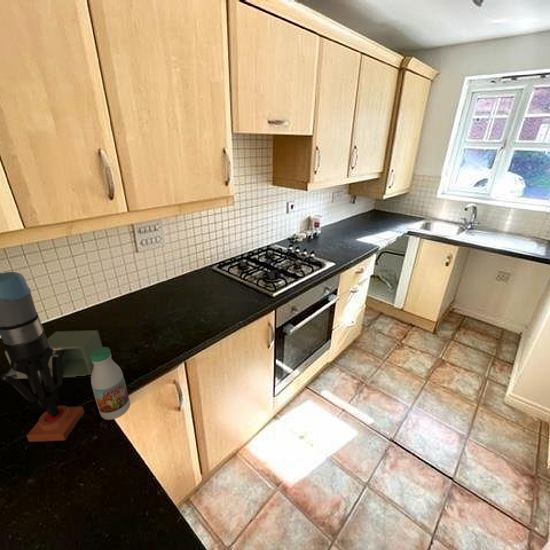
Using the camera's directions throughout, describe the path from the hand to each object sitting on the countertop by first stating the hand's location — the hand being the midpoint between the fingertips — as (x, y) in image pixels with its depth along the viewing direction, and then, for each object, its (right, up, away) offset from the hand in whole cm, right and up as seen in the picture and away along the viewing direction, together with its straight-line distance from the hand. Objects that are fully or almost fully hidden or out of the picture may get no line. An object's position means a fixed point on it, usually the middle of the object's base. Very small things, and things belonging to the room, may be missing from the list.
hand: (53, 413), depth 79 cm
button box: (0, -4, +2) cm, 5 cm away
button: (0, -2, +1) cm, 2 cm away
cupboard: (-9, +5, +24) cm, 26 cm away
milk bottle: (+13, -2, +7) cm, 15 cm away
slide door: (-18, +2, +15) cm, 24 cm away
